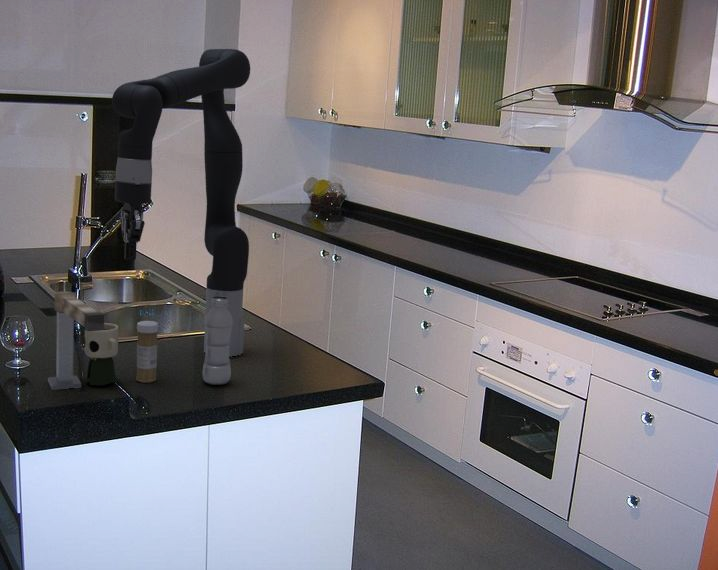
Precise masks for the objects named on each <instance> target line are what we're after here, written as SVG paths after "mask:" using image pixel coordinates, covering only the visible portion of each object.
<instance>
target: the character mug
mask: <svg viewBox="0 0 718 570" xmlns="http://www.w3.org/2000/svg"><path fill="white" fill-rule="evenodd" d="M84 340H85V345H84V348H83V349H84V350H83V352H84V354H85V356H86V357H89V359H88V363H87V370H86V376H85V377H86V378H85V383H87V384H88V383H89V385H90V386H106V385H108V384H112V383H114V382H116V371H115V370H116V369H115V362H114V359H113V357H115V356H117V355H118V352H119V326H118V325H117V324H114V323H109V322H104V330H99V331H87V330H85V329H84ZM88 380H89V382H88Z"/></svg>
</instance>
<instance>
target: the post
mask: <svg viewBox="0 0 718 570" xmlns="http://www.w3.org/2000/svg"><path fill="white" fill-rule="evenodd" d="M74 321H75V320H74V319H72V318H71V317H70V316H68V315H67V314H65V313H64V312H58V311H56V359H55V360H56V363H55V365H56V376H50V377H47V382H48V384H49V387H50V389H51V390H52V391H59V390H60V389H61V390H70V389H69V388H74V389H82V382H81V380H80V379H79V377H78V375H77V374H76V375H75V374H74V328H75V327H74V326H75V325H74V324H75V323H74Z"/></svg>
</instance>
